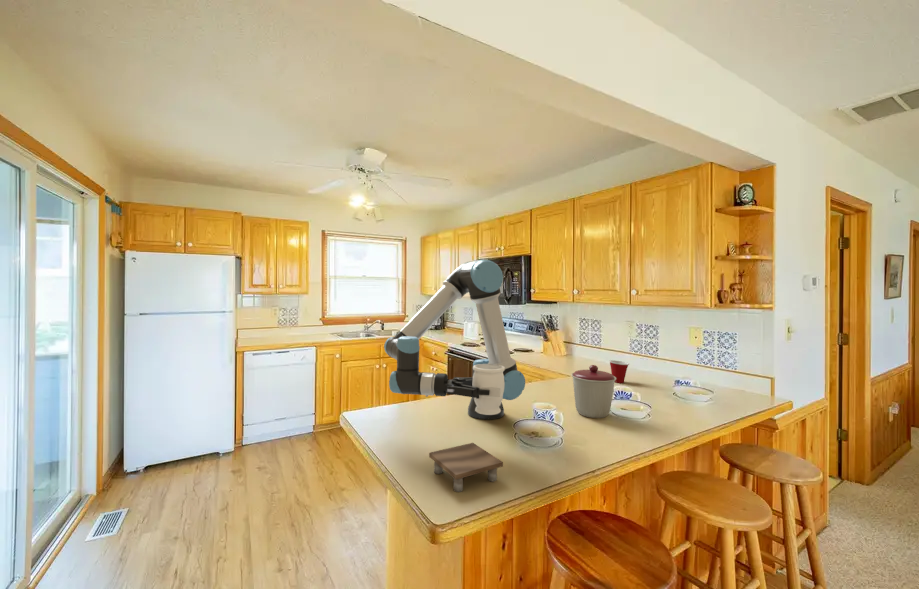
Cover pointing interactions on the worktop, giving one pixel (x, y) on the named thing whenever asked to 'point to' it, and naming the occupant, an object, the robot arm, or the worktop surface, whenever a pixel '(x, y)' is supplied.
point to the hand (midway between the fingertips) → (501, 388)
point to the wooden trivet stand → (465, 463)
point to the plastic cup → (618, 370)
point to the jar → (488, 378)
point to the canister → (593, 392)
